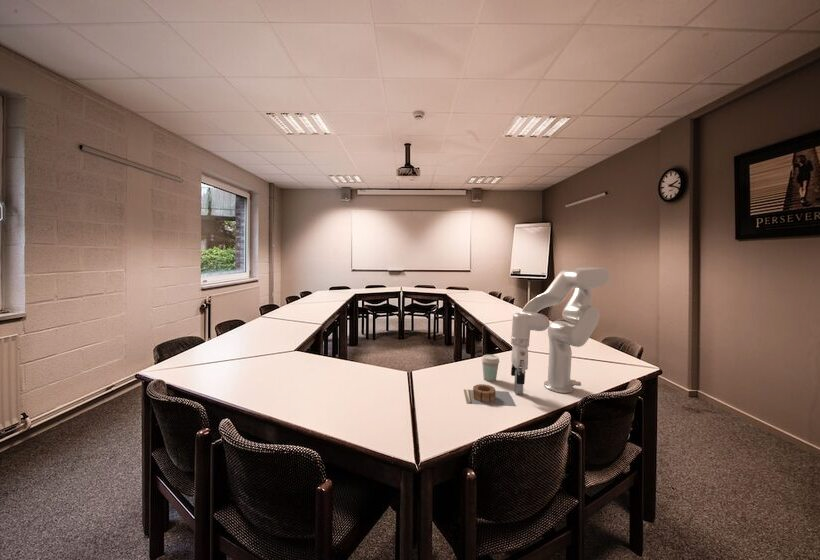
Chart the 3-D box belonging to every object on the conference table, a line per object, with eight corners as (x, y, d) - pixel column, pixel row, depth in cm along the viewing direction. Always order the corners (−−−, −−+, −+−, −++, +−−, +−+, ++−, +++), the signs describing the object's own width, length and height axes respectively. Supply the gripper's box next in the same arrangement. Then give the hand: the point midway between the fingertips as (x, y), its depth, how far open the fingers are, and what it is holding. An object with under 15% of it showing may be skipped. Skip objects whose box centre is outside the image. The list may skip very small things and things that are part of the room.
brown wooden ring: (492, 393, 142) (493, 384, 141) (496, 402, 133) (496, 393, 133) (472, 392, 142) (472, 383, 142) (474, 401, 134) (474, 392, 133)
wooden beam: (520, 393, 144) (521, 369, 143) (522, 396, 141) (523, 372, 140) (514, 393, 144) (515, 369, 143) (515, 396, 141) (516, 371, 140)
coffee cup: (499, 384, 153) (500, 360, 152) (481, 383, 155) (481, 358, 154) (498, 378, 161) (498, 354, 161) (480, 376, 163) (481, 353, 162)
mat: (508, 392, 144) (508, 389, 144) (516, 407, 130) (516, 404, 130) (463, 390, 146) (463, 387, 146) (466, 405, 132) (466, 401, 132)
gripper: (535, 347, 132) (532, 388, 133) (523, 337, 149) (520, 373, 150) (516, 346, 132) (513, 386, 133) (507, 336, 149) (504, 372, 150)
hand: (517, 379), depth 142 cm, fingers open, 9 cm apart
